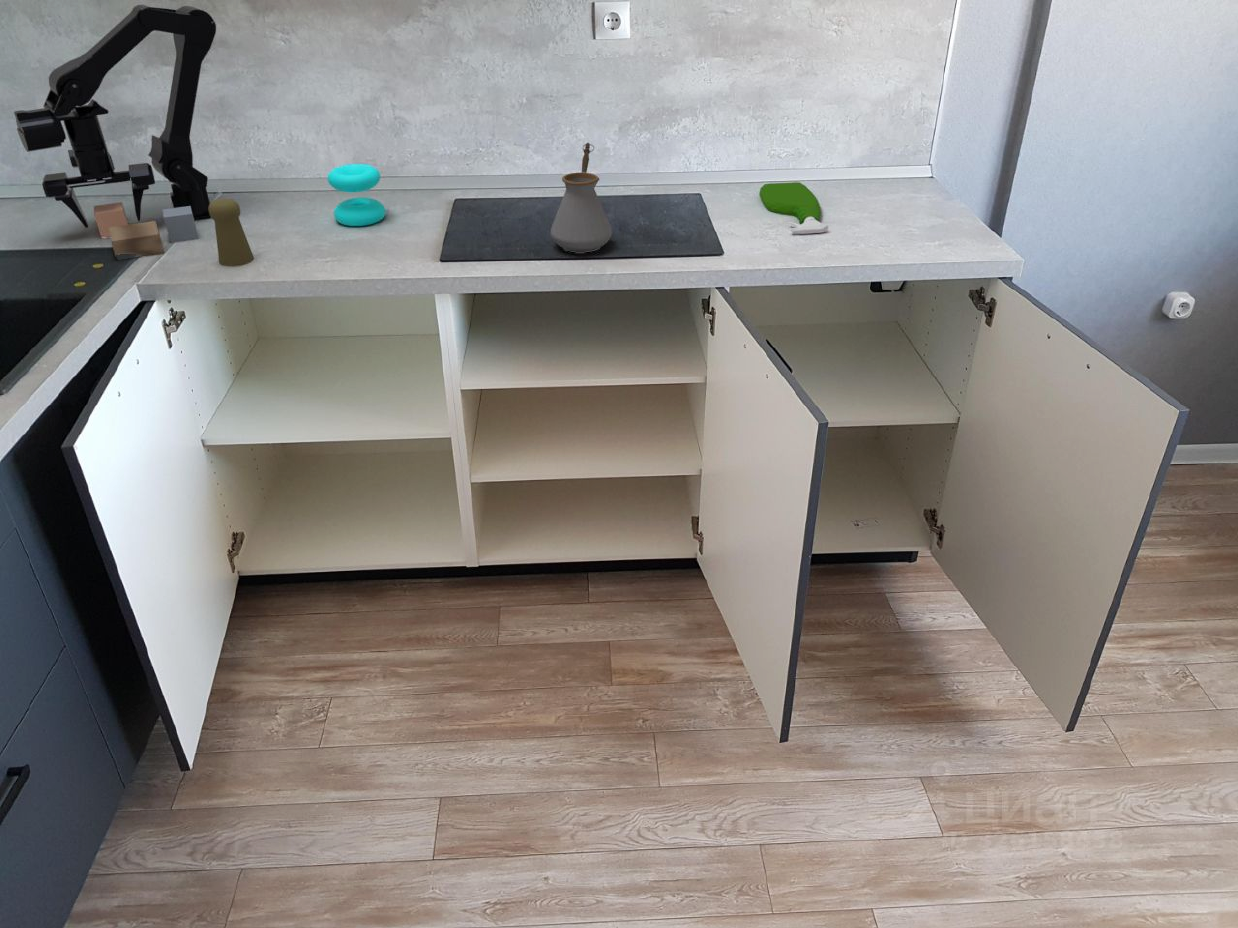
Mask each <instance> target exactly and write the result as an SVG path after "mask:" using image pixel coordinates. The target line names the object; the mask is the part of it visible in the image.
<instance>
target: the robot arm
mask: <svg viewBox="0 0 1238 928" xmlns="http://www.w3.org/2000/svg"><path fill="white" fill-rule="evenodd" d="M154 31H157V32H163V33H169V34H172V36H173V37H172V38H173V41H174V46H175V47H174V48H175V61H174V62H175V63H174V67H173V68H174V69H173V72H172V73H173V74H172V81H171V82H172V83H171V86H170V88H171V89H170V94H169V100H168V106H167V111H166V112H167V113H166V119H165V126H164V128H163V129H164V130H163V131H162V133H161V134H160V136H159V137H158V136H155V135H151V149H150V151H149V153H148V156H149V157H150V159H151V164H149V163H148V162H143V163H134V164H128V170H123V171H122V170H121V171H115V170H116V168H115V164H114V162H113V157H112V155H111V154H110V151H109V150H108V146H107V143H106V139H105V137H104V134H103V133H104V132H103V130H102V127H101V124H100V121H99V117H98V116H103V115H108V114H109V110H108V109H107V108H105V107H104V106H103V105H101V104H100V103H98V101H96V100H95V99H93V97H94V96H95V94H96V92H97V91H98V90H99V88H100V86H101V84H102V83H103V80H104V78H105V77H106V75H107V74H108V73H109V71H111V70H112V69H113V68H114V67H115V66H116V65H117V64H118V63H120V61H121V60H122V59H124V58H126V56H127V55H128V54H130V52H131V51H132V50H133V49H134V48H136V47H137V46H138V45H139V44H140V43H141V42H142V41H143V40H144V39H146V38H147V37H148V36H149V34H151V33H152V32H154ZM216 33H217V24H216V22H215V20H214V19H213V17H212V15H211V14H209V13H208V12H206V11H204V10H203V9H200V8H196V7H194V6H190V5H182V6H181V7H179V8H178V9H177V8H176V9H171V8H163V7H153V6H148V5H145V4H137V5H135V6H133V8H132V10H131V11H130V13H128V14H127V15H126V16H125V17H124V18H123V19H122V20H121V21H120V22H119V23H117V24H116V25H114V27H113V28H112V29H111V30H110V31H108V33H107V34H105V36H103V37H102V38H101V39H100V40H99V41H97V42H96V43H95V44H94V45H93V46H92V47H91V48H90V49H89V50H88V51H87V52H85V53H84V54H81V55H80V56H78V57H76V58H73V59H71V60H68V61H66V62H65V63H63V64H62V65H59V66H58V67H56V68H55V69H53V70H52V72H51V73H50V74H49V76H48V85H49V86H48V87H49V88H50V89H49V91H48V94H47V96H46V98H45V101H44V104H43V107H42V108H37V109H31V110H15V111H14V112H13V114H14V116H15V123H16V127H17V128H16V131H17V133H18V136H19V139H20V141H21V144H22V146H23V148H24V149H25V151H26V152H27V153H29V152H35V151H41V150H47V149H54V148H61V147H62V146H63V145H62V143H65V140H66V139H67V136H68V140H69V143H70V147H71V149H69V150H67V153H68V158H69V161H70V163H71V166H72V168H74V169H75V168H76V169H78V170H79V174H80V175H78V176H72V177H68V174H67V173H66V172H57V173H49V174H48V173H47V174H45V175H44V176H43V178H42V183H41V185H42V189H43V192H44V195H45V197H46V198H54V200H55V201H57V202H59V201H61V202H62V203H64V205H65V206H66V207H67V208H68V209H70V210H71V212H72V213H73V214H74V215H75V217H77V219H78V220H79V221H80V223H82V225H83V226H84V227H85V228H86V229H88V228H89V223H88V221H87V220H88V219H87V218H86V215H85V214H84V213H85V212H84V211H83V209H82V206H81V204H80V202H79V200H78V197H77V196H76V191H75V190H74V188H75V189H76V188H83V187H92V186H99V185H108V184H115V183H123V182H124V183H125V182H131V191H132V197H133V205H134V210H135V216H136V220H137V221H138V222H140V221H141V213H142V212H141V211H142V200H143V196H144V191H147V190H149V189H150V186H153V185H154V184H156V180H155V179H156V178H155V175H154V171H153V169H154V170H155V171H156V172H157V173H158V174H160V175H161V176H162V177H164V178H165V179H167V180H168V181H169V182H170V183H172V184H170V185H171V191H172V192H171V191H170V194H169V195H170V198H171V199H170V200H171V203H172V208H178V207H186V206H191V210H192V214H193V218H194V220H199V219H205V218H206V219H207V218H211V216H210V214H209V210H208V207H209V204H210V203H211V201H210V197H209V195H208V194H209V193H208V189H207V187H208V178H209V177H208V176H207V175H206V174H205V173H203V172H201V171H200V170H198V169H197V168H195V167H194V166H193V165H194V163H193V162H194V160H193V159H194V158H193V157H194V155H193V154H194V153H193V149H192V148H193V147H192V143H191V131H192V125H193V123H192V122H193V118H194V112H195V106H196V99H197V93H198V88H199V81H200V77H201V70H202V69H201V68H202V64H203V61H204V60H205V58H206V56H207V55H208V53H209V52H210V50H211V48H212V45H213V42H214V39H215V36H216ZM62 121H63V124H64V127H65V130H66V132H65V130H64V127H63V124H62ZM66 134H67V136H66ZM152 167H153V168H152Z"/></svg>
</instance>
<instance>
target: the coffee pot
mask: <svg viewBox="0 0 1238 928" xmlns="http://www.w3.org/2000/svg"><path fill="white" fill-rule="evenodd" d="M590 146H592V147H593V149H592V150H590V149H591V148H590ZM582 147H584V148H582V150H583V153H584V154H583V157H582V161H581V172H571V173H567V174H565V175H563V176H562V179H561V181H562V182H563V183H564V186H565V191H564V194H563V197H562V199H561V202H560V205H559V207H558V210H557V213H556V215H555V218H554V221H553V223H552V225H551V229H550V236H551V238H552V241H554V243H556V244H557V245H558V246H559V247H560V248H561V247H563V248H565V249H566V250H569V251H575V252H585V251H591V250H595V249H597V248H599V247H601V246H602V247H603V246H605V245H606V244H607V243H608V242H609V240H610V239H611V237H612V235H613V227H612V226H611V224H610V221H609V220H608V217H607V215H606V212H605V210H604V208H603V205H602V203H601V201H600V198H599V196H598V193H597V192H596V190H595V187H596V186H597V184H598V182H599V181H600V177H599V176H597V175H596V174H594V173H590V172H587V171H588V166H589V161H590V155H589V154H590V153H592V152H593V151H595V146H594V145H593V144H592V143H591V144H590V143H589V142H586V143H585V144H583V146H582Z"/></svg>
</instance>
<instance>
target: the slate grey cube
mask: <svg viewBox="0 0 1238 928" xmlns="http://www.w3.org/2000/svg"><path fill="white" fill-rule="evenodd" d="M162 216H163V220H164V224H165V227H166V230H167V235H168V237H169V241H170V243H171V244H173V243H179V242H186V241H187V242H188V241H192V240H199V239H200V238H199V235H198V230H197V225H196V222H195V219H194V218H193V214H192V210H191V206H186V207H178V208H174V207H171V208H165V209H162Z"/></svg>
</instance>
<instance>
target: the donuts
mask: <svg viewBox="0 0 1238 928" xmlns="http://www.w3.org/2000/svg"><path fill="white" fill-rule="evenodd" d="M380 180H381V174H380V171H379V170H378V169H377V168H376V167H375V166H372V165H369V164H362V163H352V164H345V165H341V166H338V167H334V168H333V169H332V170H330V171H329V173H328V175H327V181H328V184H329V185H330V186H331V188H333V189H334V190H337V191H339V192H343V193H362V192H365V191H366V192H367V191H370V190H371V189H374V188H375V187H376V186H378V184H379V182H380ZM333 213H334V214H333V215H334V218H335V220H336V221H337V222H338V223H340V224H341V225H344V226H349V227H364V226H365V227H366V226H370V225H374V224H376V223H379V222H380V221H382V220H383V219H384V218H385V215H386V208H385V206H384V204H382V203H381V201H379V200H377V199H376V198H375V199H374V198H370V197H353V198H350V199H346V200H343V201H342V202H339V203H338V205H337V206H336V207H335V208H334V211H333Z"/></svg>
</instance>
